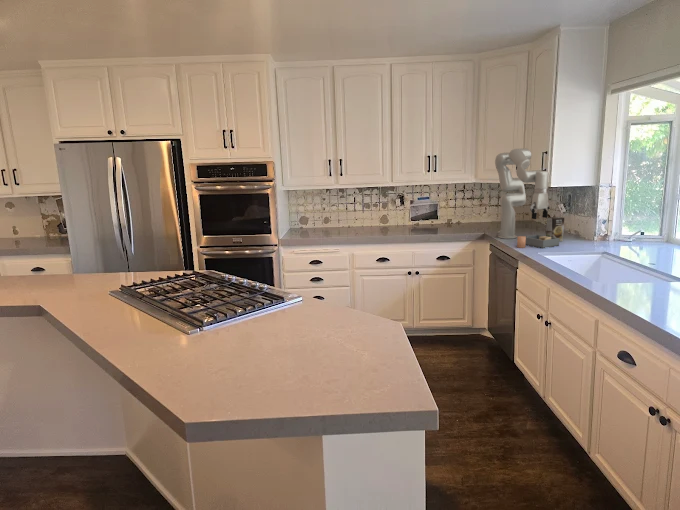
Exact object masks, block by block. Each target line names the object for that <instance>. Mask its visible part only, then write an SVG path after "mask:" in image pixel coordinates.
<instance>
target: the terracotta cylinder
mask: <svg viewBox="0 0 680 510" xmlns="http://www.w3.org/2000/svg"><path fill="white" fill-rule="evenodd" d="M516 236H517V238H516V241H517V242H516V248H518V249H526V246H527V245H526V236H527V235H516Z"/></svg>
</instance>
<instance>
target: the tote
mask: <svg viewBox="0 0 680 510" xmlns="http://www.w3.org/2000/svg"><path fill="white" fill-rule="evenodd" d="M525 236H526V245H525V246H528V245H529V246H528V247H533V246H534V248H538V247H541V248H540V249H546V248H545V247H549V248H554V246H556V247H560V242H559V238H555V237H551V239H548V240H539V237H542V236H544V235H542V234H530V235H525ZM547 237H549V236H547Z"/></svg>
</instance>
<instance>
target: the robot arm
mask: <svg viewBox="0 0 680 510" xmlns="http://www.w3.org/2000/svg"><path fill="white" fill-rule="evenodd" d="M532 156H533V155H532V152H531V149H529V148H527V147H526V148H514V149H512V150H510V151H509V152H500V153H499V154H497V155H496V157H495V158H494V159H495V161H494V164H495V169H496V171H497V174H498V179H499V186H500V189H501V191H502V192H505V193H503V194H502V195H501V196H500V208H501V209H500V211H501V212H500V213H501V214H500V215H501V216H500V218H501V219H500V230H498V231H497V234H499V235H497V238H500V239H507V240H510V239H517V236H518V235H516V234H515V233H516V214H517V213H516V210H515V208H514V207H522V206H524V205H525V204H526V203H527V196H526V195H527V193H526V189H525V187H526V186H525V184H528V183H529V184H530V183H534V193H533V194H532V199H531V205H529V209H530V211H531V219H532V220H537V218H538V217H537V216H538V215H537V213H538V210H543V211H542V218H546V219H547V218H548V212H549V209H550V207H551V203H550V202H549V194H548V190H549V175H550V174H549V171H547V170H539V169H537V170H534V169H533V170H526V169H528V168H529V166H530V164H531V161H530V160H531V159H532ZM509 165H515V167H516V169H515V170H516V171H515V172H516V176H517V177H512V171H511V170H510V168H509Z"/></svg>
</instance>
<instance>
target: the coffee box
mask: <svg viewBox="0 0 680 510" xmlns="http://www.w3.org/2000/svg"><path fill="white" fill-rule="evenodd" d="M564 228H565V217H561V216H553V217H547V218H546V230H545V236H549V237H555V238H559V243H560V242H563V241H564V231H565V229H564Z"/></svg>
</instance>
